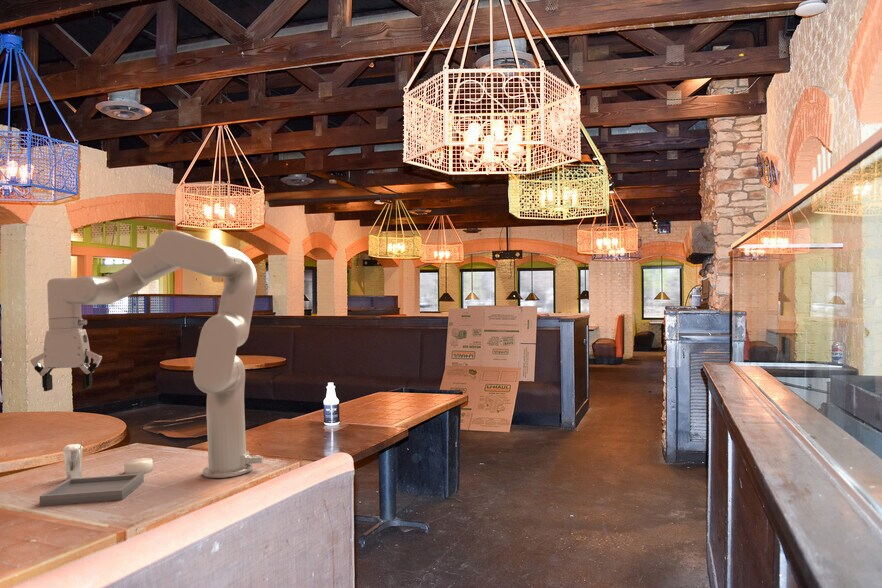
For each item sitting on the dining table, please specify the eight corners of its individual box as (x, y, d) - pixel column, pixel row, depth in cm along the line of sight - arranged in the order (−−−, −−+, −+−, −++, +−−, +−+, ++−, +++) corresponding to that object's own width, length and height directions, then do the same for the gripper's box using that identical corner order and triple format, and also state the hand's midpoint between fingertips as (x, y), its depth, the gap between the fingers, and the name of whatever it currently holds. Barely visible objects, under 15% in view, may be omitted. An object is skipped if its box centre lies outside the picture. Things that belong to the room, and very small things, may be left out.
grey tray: (143, 481, 158) (143, 473, 158) (122, 499, 144) (122, 490, 144) (68, 487, 156) (68, 478, 156) (39, 505, 142) (39, 496, 142)
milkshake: (77, 481, 161) (75, 443, 161) (59, 481, 162) (58, 443, 162) (90, 476, 165) (89, 439, 165) (73, 476, 166) (71, 438, 166)
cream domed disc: (156, 467, 172) (156, 457, 172) (147, 474, 165) (147, 463, 165) (130, 469, 172) (129, 458, 172) (120, 476, 165) (119, 465, 165)
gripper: (106, 322, 168) (108, 385, 168) (38, 325, 166) (40, 389, 166) (93, 324, 160) (96, 390, 160) (22, 326, 159) (24, 393, 158)
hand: (67, 389), depth 163 cm, fingers open, 9 cm apart
